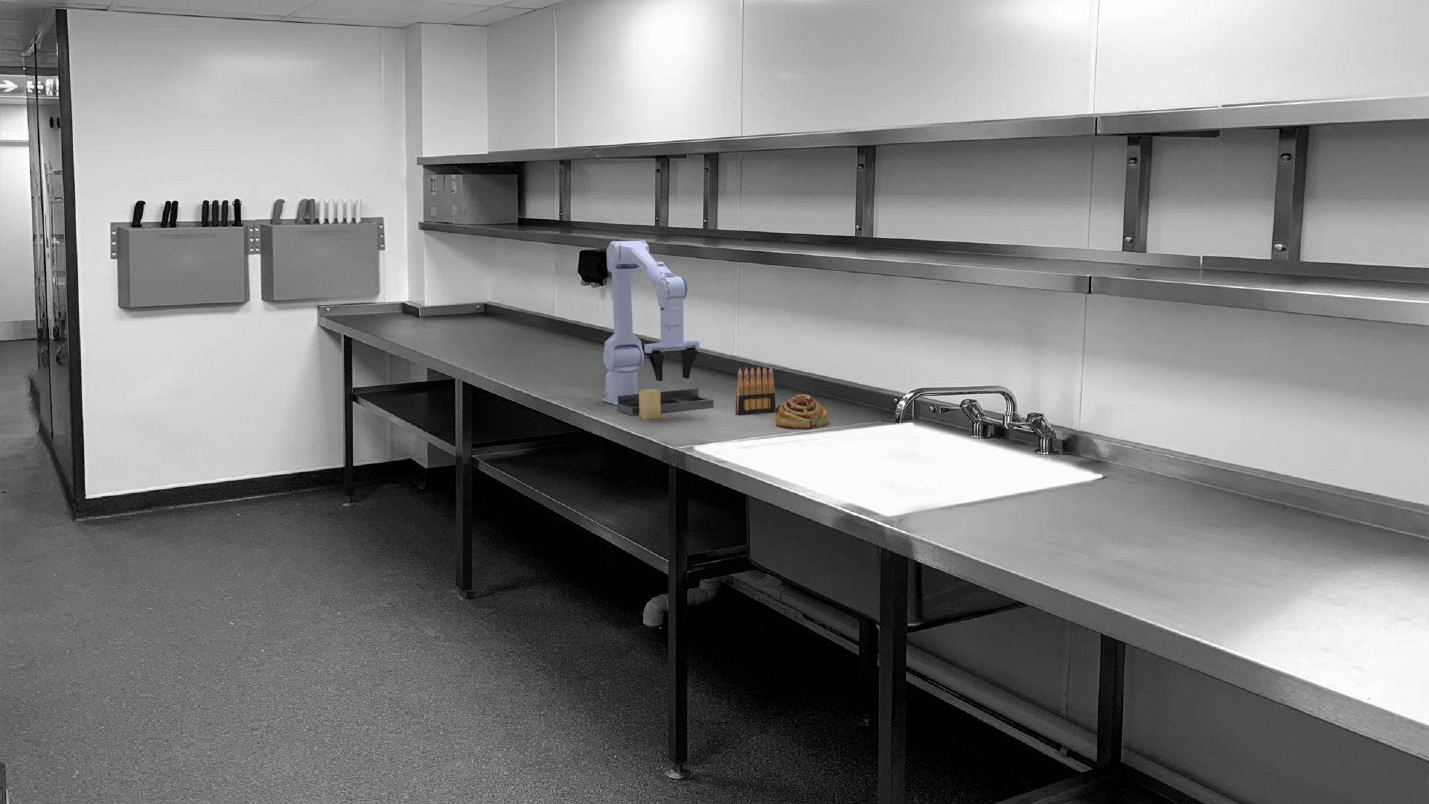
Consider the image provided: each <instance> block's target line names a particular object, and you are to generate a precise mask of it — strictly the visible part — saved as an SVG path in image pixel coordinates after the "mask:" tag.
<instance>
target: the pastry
mask: <svg viewBox="0 0 1429 804" xmlns="http://www.w3.org/2000/svg"><path fill="white" fill-rule="evenodd" d="M775 408H776V412H775V426H776V427H778V428H781V429H787V430H799V429H802V430H809V429H812V428H819V427H821V428H822V427H824V426H826V425H828V424H829V423H828V422H829V415H828V413H827V409H826V408H827V407H826V405H825V404H822V405H821V404H819V402H817V400H816V399H814V398H813V397H812V396H811V395H809V394H806V393H805V394H796V395H795V396H793V397H791V398H790V399H788V400H786V401H785V402H784V403H782V404H779V405H777V406H776V407H775Z"/></svg>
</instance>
